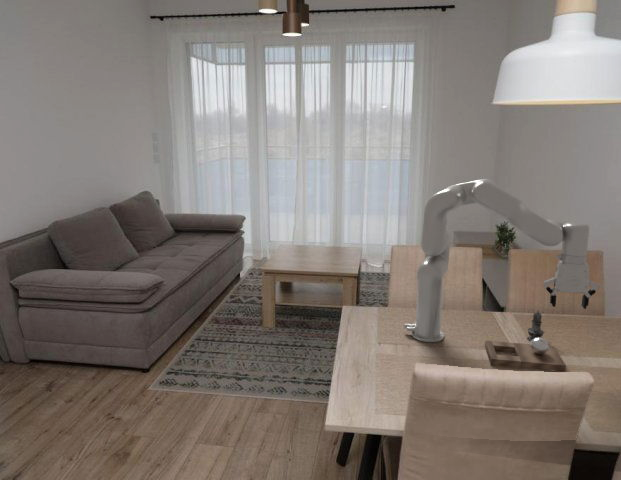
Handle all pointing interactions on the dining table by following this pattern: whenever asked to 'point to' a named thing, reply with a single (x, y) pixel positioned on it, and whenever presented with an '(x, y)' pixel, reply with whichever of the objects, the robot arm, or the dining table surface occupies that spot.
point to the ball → (539, 345)
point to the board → (523, 356)
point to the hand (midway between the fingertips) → (568, 306)
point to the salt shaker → (535, 327)
